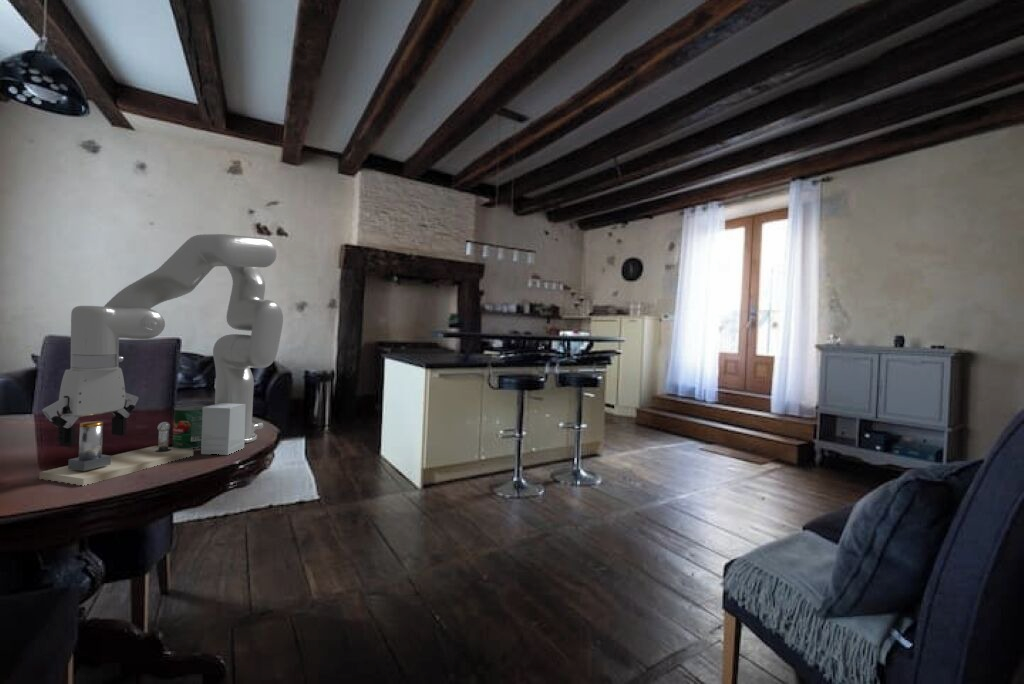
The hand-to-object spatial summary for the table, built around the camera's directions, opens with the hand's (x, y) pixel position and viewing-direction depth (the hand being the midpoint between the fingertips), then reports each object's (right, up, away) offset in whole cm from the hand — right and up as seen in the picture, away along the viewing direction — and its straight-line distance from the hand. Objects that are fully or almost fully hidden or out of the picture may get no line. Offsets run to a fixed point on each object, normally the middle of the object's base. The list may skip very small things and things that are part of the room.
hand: (94, 440), depth 94 cm
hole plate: (+1, -8, +6) cm, 10 cm away
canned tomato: (+2, -8, +26) cm, 27 cm away
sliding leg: (0, -6, 0) cm, 6 cm away
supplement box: (+13, -8, +22) cm, 27 cm away
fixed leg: (+3, -6, +15) cm, 17 cm away
